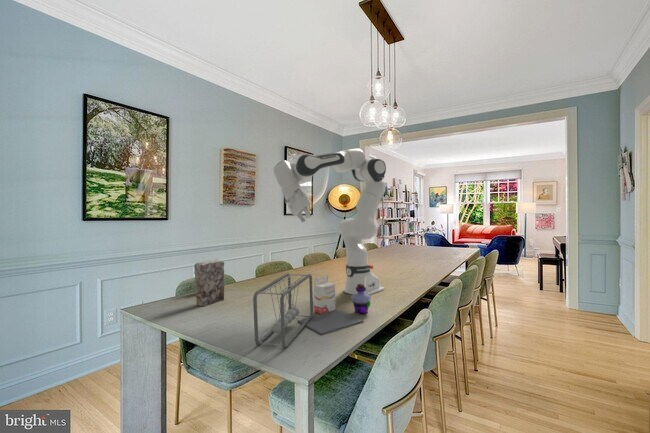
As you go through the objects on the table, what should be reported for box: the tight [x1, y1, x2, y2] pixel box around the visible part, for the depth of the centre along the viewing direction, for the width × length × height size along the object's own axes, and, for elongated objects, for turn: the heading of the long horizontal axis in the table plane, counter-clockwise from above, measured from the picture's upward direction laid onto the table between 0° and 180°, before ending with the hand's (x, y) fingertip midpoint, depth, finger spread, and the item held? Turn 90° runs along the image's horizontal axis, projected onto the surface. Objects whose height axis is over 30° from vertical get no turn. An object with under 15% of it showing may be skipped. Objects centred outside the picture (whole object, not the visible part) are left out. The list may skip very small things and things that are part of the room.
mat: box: [297, 309, 365, 336], centre depth 120 cm, size 20×16×1 cm
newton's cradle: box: [252, 272, 314, 349], centre depth 111 cm, size 30×10×18 cm, turn 165°
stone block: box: [193, 259, 225, 307], centre depth 149 cm, size 13×7×20 cm, turn 153°
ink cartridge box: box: [313, 275, 336, 315], centre depth 133 cm, size 9×5×15 cm, turn 135°
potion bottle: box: [350, 284, 372, 315], centre depth 131 cm, size 9×9×12 cm
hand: (306, 219), depth 145 cm, fingers open, 8 cm apart
